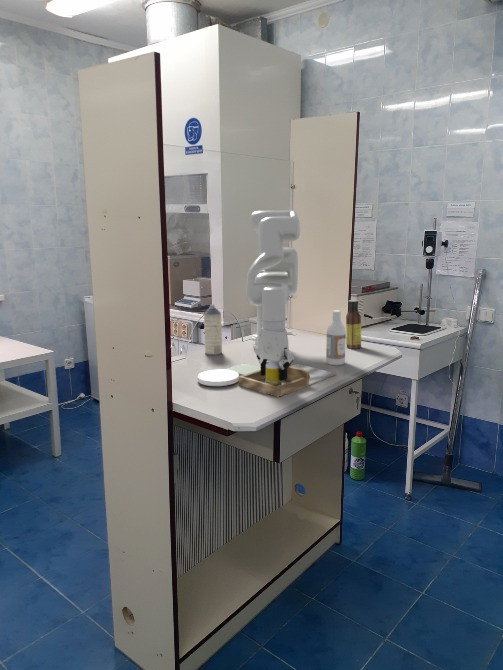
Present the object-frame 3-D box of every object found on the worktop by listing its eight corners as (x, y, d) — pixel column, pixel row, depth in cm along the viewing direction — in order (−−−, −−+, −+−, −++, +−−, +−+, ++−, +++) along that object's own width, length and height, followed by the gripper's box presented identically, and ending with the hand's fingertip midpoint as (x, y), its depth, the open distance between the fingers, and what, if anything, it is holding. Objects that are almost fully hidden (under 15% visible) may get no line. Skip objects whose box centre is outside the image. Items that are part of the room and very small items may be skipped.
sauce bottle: (362, 346, 227) (363, 299, 222) (360, 349, 221) (361, 302, 216) (346, 345, 229) (347, 298, 224) (344, 348, 223) (345, 301, 218)
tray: (224, 373, 192) (224, 369, 192) (244, 367, 199) (244, 363, 199) (248, 380, 184) (248, 375, 184) (268, 373, 191) (268, 369, 191)
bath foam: (334, 366, 198) (336, 313, 193) (322, 362, 204) (323, 310, 199) (348, 363, 202) (350, 311, 197) (336, 359, 207) (337, 308, 203)
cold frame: (238, 385, 179) (238, 370, 178) (297, 365, 200) (297, 352, 199) (278, 397, 167) (278, 382, 166) (336, 374, 188) (336, 361, 187)
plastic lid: (228, 373, 192) (228, 367, 192) (246, 384, 180) (246, 377, 180) (191, 379, 186) (191, 372, 185) (207, 391, 174) (207, 384, 173)
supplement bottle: (280, 388, 175) (280, 359, 173) (264, 387, 176) (264, 358, 174) (282, 383, 180) (282, 355, 178) (266, 382, 181) (266, 354, 179)
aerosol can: (225, 352, 220) (223, 303, 215) (216, 356, 214) (215, 306, 209) (210, 350, 223) (209, 302, 218) (202, 354, 217) (200, 305, 212)
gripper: (246, 323, 177) (246, 374, 181) (286, 331, 165) (286, 385, 169) (261, 319, 182) (262, 369, 186) (302, 327, 170) (301, 380, 174)
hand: (273, 377), depth 178 cm, fingers open, 7 cm apart
